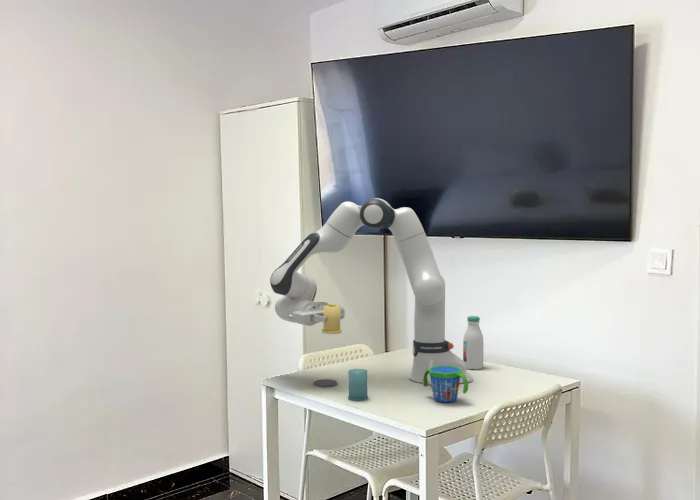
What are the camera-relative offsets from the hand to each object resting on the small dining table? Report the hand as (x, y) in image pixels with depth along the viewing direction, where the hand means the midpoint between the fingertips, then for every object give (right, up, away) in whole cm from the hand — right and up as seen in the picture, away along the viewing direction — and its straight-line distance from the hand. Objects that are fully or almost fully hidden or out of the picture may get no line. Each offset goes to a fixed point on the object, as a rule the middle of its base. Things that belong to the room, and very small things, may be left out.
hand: (333, 318), depth 241 cm
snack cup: (+37, -25, -14) cm, 47 cm away
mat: (-3, -24, +7) cm, 25 cm away
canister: (+8, -25, -11) cm, 29 cm away
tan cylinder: (-1, -5, +1) cm, 5 cm away
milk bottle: (+53, -22, +29) cm, 65 cm away
